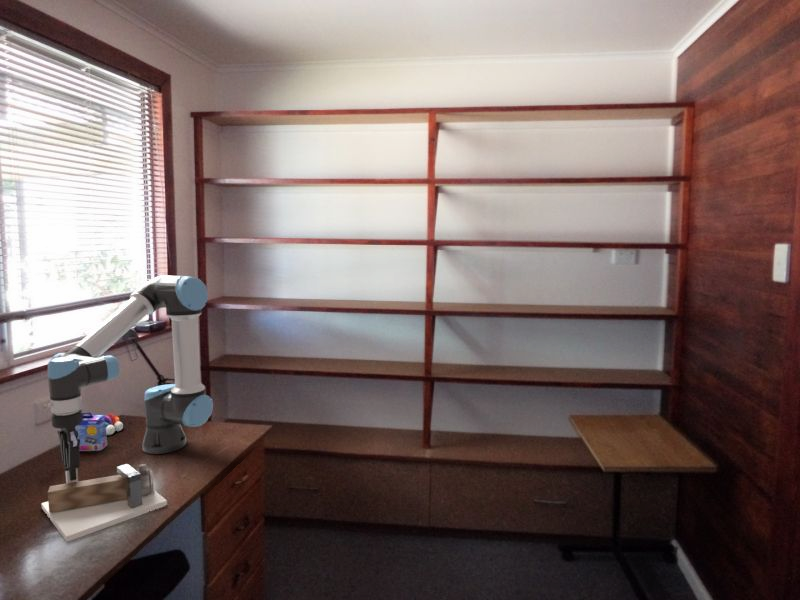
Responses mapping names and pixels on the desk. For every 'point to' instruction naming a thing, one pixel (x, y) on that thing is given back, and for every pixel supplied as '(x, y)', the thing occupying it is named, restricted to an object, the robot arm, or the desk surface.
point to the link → (95, 491)
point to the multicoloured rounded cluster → (112, 424)
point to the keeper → (131, 485)
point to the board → (99, 515)
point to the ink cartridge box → (92, 432)
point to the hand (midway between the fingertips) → (72, 489)
